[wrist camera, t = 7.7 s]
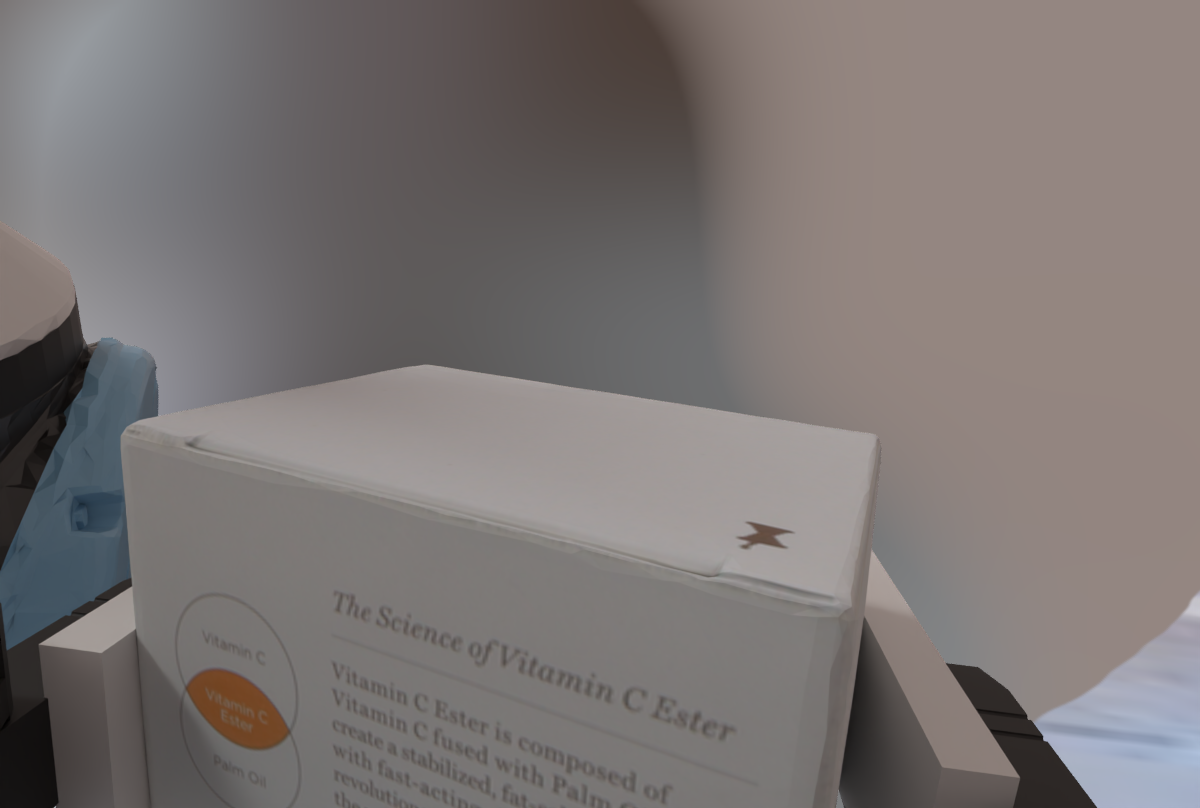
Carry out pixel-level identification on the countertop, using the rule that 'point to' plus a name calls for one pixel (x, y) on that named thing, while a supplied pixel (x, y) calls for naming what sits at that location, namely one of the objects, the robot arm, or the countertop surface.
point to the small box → (494, 598)
